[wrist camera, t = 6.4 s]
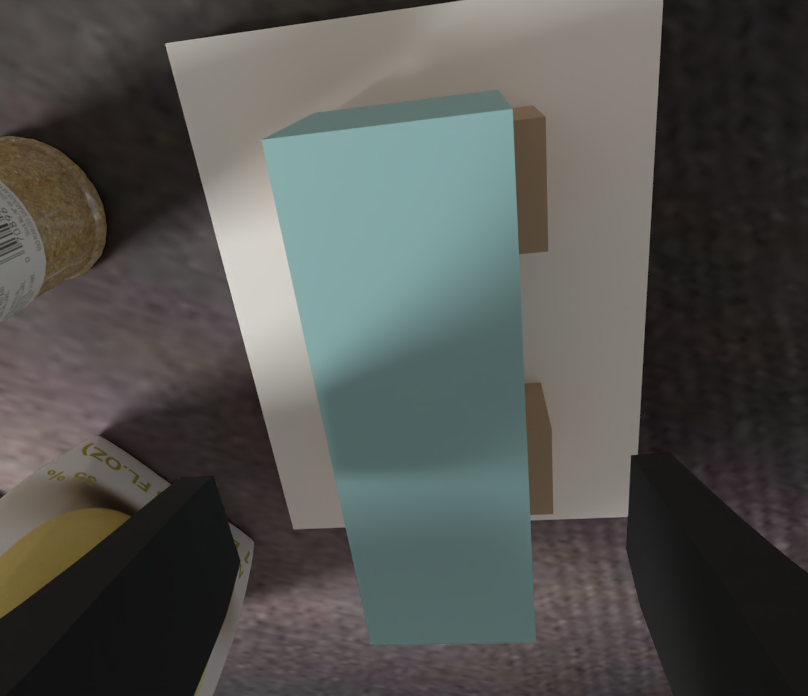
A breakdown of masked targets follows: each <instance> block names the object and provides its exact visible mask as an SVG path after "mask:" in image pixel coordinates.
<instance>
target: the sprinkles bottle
mask: <svg viewBox="0 0 808 696" xmlns="http://www.w3.org/2000/svg"><path fill="white" fill-rule="evenodd" d="M106 231H107V224H106V215H105V211H104V206H103V203H102V201H101V199H100V197H99V195H98V192H97V190H96V189H95V187H94V185H93V184H92V183H91V182H90V181H89V180H88V178H87V176H86V174H85V173H84V172H83V171H82V170H81V169H80V168H79V166H78V165H76V164H75V163H74V162H73V161H72V160H71V159H70V158H68V157H67V156H66V155H65V154H64V153H62V152H61V151H59V150H58V149H55V148H53V147H52V146H50V145H48V144H45V143H42V142H39V141H37V140H34V139H27V138H23V137H15V136H5V137H0V323H1V322H3V321H5V320H6V319H8V318H9V317H11V316H13V315H14V314H16V313H17V312H19V311H21V310H22V309H23V308H25V307H26V306H27V305H28V304H30V303H31V302H32V301H33V300H34V299H35V298H37V297H39V296H40V295H42V294H43V293H45V292H46V291H48V290H50V289H52V288H54V287H55V286H56V285H57V284H59V283H61V282H63V281H65V280H67V279H71V278H75V277H78V276H80V275H82V274H83V273H85V272H86V271H88V270H89V269H90V268H91V267H92V266H93V265H94V264H95V263H96V261H97V260H98V259H99V258H100V256H101V255H102V251H103V248H104V246H105V242H106Z"/></svg>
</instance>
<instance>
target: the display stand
mask: <svg viewBox="0 0 808 696" xmlns="http://www.w3.org/2000/svg"><path fill="white" fill-rule="evenodd" d="M662 12H663V0H462V1H455V2H448V3H441V4H434V5H427V6H420V7H414V8H407V9H400V10H393V11H386V12H379V13H372V14H365V15H358V16H351V17H344V18H338V19H331V20H324V21H317V22H310V23H303V24H296V25H289V26H282V27H275V28H269V29H262V30H255V31H248V32H241V33H234V34H227V35H220V36H213V37H206V38H199V39H193V40H186V41H179V42H172V43H165V45H166V49H167V53H168V57H169V61H170V64H171V68H172V72H173V76H174V79H175V83H176V87H177V91H178V95H179V98H180V102H181V106H182V110H183V113H184V117H185V121H186V125H187V129H188V132H189V136H190V140H191V144H192V148H193V151H194V155H195V159H196V163H197V166H198V170H199V174H200V178H201V182H202V185H203V189H204V193H205V197H206V200H207V204H208V208H209V212H210V216H211V219H212V223H213V227H214V231H215V234H216V238H217V242H218V246H219V250H220V253H221V257H222V261H223V265H224V269H225V272H226V276H227V280H228V284H229V287H230V291H231V295H232V299H233V303H234V306H235V310H236V314H237V318H238V321H239V325H240V329H241V333H242V337H243V340H244V344H245V348H246V352H247V355H248V359H249V363H250V367H251V371H252V374H253V378H254V382H255V386H256V389H257V393H258V397H259V401H260V405H261V408H262V412H263V416H264V420H265V424H266V427H267V431H268V435H269V439H270V442H271V446H272V450H273V454H274V458H275V461H276V465H277V469H278V473H279V476H280V480H281V484H282V488H283V492H284V495H285V499H286V503H287V507H288V510H289V514H290V518H291V522H292V526H293V529H318V528H344V527H345V523H344V518H343V514H342V509H341V505H340V500H339V495H338V491H337V486H336V482H335V477H334V472H333V468H332V463H331V459H330V454H329V449H328V445H327V440H326V436H325V431H324V426H323V422H322V417H321V413H320V408H319V403H318V399H317V394H316V390H315V385H314V380H313V376H312V371H311V367H310V362H309V357H308V353H307V348H306V344H305V339H304V334H303V330H302V325H301V320H300V316H299V311H298V307H297V302H296V297H295V293H294V288H293V284H292V279H291V274H290V270H289V265H288V261H287V256H286V251H285V247H284V242H283V238H282V233H281V228H280V224H279V219H278V215H277V210H276V205H275V201H274V196H273V192H272V187H271V182H270V178H269V173H268V169H267V164H266V159H265V155H264V150H263V146H262V141H261V140H262V139H264V138H266V137H268V136H270V135H272V134H274V133H276V132H277V131H279V130H281V129H283V128H285V127H287V126H289V125H291V124H293V123H295V122H297V121H299V120H301V119H303V118H305V117H307V116H309V115H311V114H313V113H318V112H325V111H333V110H341V109H349V108H357V107H365V106H373V105H380V104H388V103H396V102H404V101H412V100H420V99H427V98H435V97H443V96H451V95H459V94H467V93H475V92H482V91H490V90H499V92H500V93H501V94H502V96H503V97H504V98H505V100H506V101H507V102H508V103H509V105H510V106H511V107H512V109H513V129H514V152H515V176H516V199H517V222H518V245H519V268H520V291H521V314H522V337H523V360H524V383H525V407H526V430H527V453H528V476H529V499H530V521H531V520H557V519H584V518H611V517H628V505H629V485H630V465H631V455H638V442H639V424H640V406H641V388H642V371H643V353H644V335H645V317H646V299H647V281H648V263H649V245H650V227H651V209H652V191H653V174H654V156H655V138H656V120H657V102H658V84H659V66H660V48H661V30H662Z"/></svg>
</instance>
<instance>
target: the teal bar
mask: <svg viewBox="0 0 808 696" xmlns="http://www.w3.org/2000/svg"><path fill="white" fill-rule="evenodd" d="M261 141H262V146H263V150H264V155H265V159H266V164H267V169H268V173H269V178H270V182H271V187H272V192H273V196H274V201H275V205H276V210H277V215H278V219H279V224H280V228H281V233H282V238H283V242H284V247H285V251H286V256H287V261H288V265H289V270H290V274H291V279H292V284H293V288H294V293H295V297H296V302H297V307H298V311H299V316H300V320H301V325H302V330H303V334H304V339H305V344H306V348H307V353H308V357H309V362H310V367H311V371H312V376H313V380H314V385H315V390H316V394H317V399H318V403H319V408H320V413H321V417H322V422H323V426H324V431H325V436H326V440H327V445H328V449H329V454H330V459H331V463H332V468H333V472H334V477H335V482H336V486H337V491H338V495H339V500H340V505H341V509H342V514H343V518H344V523H345V528H346V532H347V537H348V541H349V546H350V551H351V555H352V560H353V564H354V569H355V574H356V578H357V583H358V587H359V592H360V597H361V601H362V606H363V610H364V615H365V620H366V624H367V629H368V633H369V638H370V643H371V645H407V644H479V643H536V637H535V614H534V591H533V568H532V545H531V522H530V499H529V476H528V453H527V430H526V407H525V383H524V360H523V337H522V314H521V291H520V268H519V245H518V222H517V199H516V176H515V152H514V129H513V109H512V107H511V106H510V105H509V103H508V102H507V101H506V100H505V98H504V97H503V96H502V94H501V93H500V92H499V90H490V91H482V92H475V93H467V94H459V95H451V96H443V97H435V98H427V99H420V100H412V101H404V102H396V103H388V104H380V105H373V106H365V107H357V108H349V109H341V110H333V111H325V112H318V113H313V114H311V115H309V116H307V117H305V118H303V119H301V120H299V121H297V122H295V123H293V124H291V125H289V126H287V127H285V128H283V129H281V130H279V131H277V132H276V133H274V134H272V135H270V136H268V137H266V138H264V139H262V140H261Z"/></svg>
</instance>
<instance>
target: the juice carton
mask: <svg viewBox="0 0 808 696" xmlns="http://www.w3.org/2000/svg"><path fill="white" fill-rule="evenodd" d="M170 485H171V484H170V483H168V482H167V481H166V480H164V479H163V478H161V477H160V476H159V475H157V474H156V473H155V472H153V471H152V470H150V469H149V468H148V467H146V466H145V465H144V464H142V463H141V462H139V461H138V460H137V459H135V458H134V457H132V456H131V455H130V454H128V453H127V452H125V451H124V450H122V449H121V448H119V447H118V446H116V445H115V444H113V443H111V442H110V441H108V440H106V439H104V438H102V437H100V436H95V437H93V438H91V439H89V440H87V441H85V442H83V443H81V444H80V445H78V446H76V447H74V448H73V449H71V450H69V451H68V452H66V453H65V454H63V455H61V456H60V457H58V458H57V459H55V460H53V461H52V462H50V463H49V464H47V465H46V466H44V467H42V468H41V469H39V470H38V471H36V472H35V473H33V474H32V475H30V476H29V477H28V478H26V479H25V480H23V481H22V482H21V483H19V484H18V485H17V486H15V487H14V488H13V489H11V490H10V491H9V492H8V493H7V494H6V495H5V496H3V497H2V498H1V499H0V618H2V617H3V616H4V615H6V614H7V613H9V612H10V611H11V610H13V609H14V608H16V607H17V606H18V605H20V604H21V603H22V602H24V601H25V600H26V599H28V598H29V597H30V596H32V595H33V594H34V593H36V592H37V591H38V590H39V589H41V588H42V587H43V586H45V585H46V584H47V583H49V582H50V581H51V580H53V579H54V578H55V577H57V576H58V575H59V574H60V573H62V572H63V571H64V570H66V569H67V568H68V567H70V566H71V565H72V564H74V563H75V562H76V561H78V560H79V559H80V558H81V557H83V556H84V555H85V554H86V553H87V552H89V551H90V550H91V549H92V548H94V547H95V546H96V545H97V544H99V543H100V542H101V541H102V540H103V539H105V538H106V537H107V536H108V535H110V534H111V533H112V532H113V531H114V530H116V529H117V528H118V527H119V526H121V525H122V524H123V523H124V522H125V521H127V520H128V519H129V518H130V517H132V516H133V515H134V514H135V513H136V512H138V511H139V510H140V509H141V508H142V507H144V506H145V505H146V504H147V503H149V502H150V501H151V500H152V499H154V498H155V497H156V496H157V495H159V494H160V493H161V492H162V491H164V490H165V489H166V488H167V487H169V486H170ZM228 523H229V522H228ZM229 526H230V530H231V533H232V536H233V539H234V542H235V545H236V548H237V551H238V554H239V557H240V560H241V562H240V566H239V570H238V574H237V578H236V582H235V586H234V590H233V594H232V597H231V601H230V604H229V608H228V611H227V615H226V618H225V620H224V623H223V625H222V628H221V631H220V633H219V636H218V638H217V641H216V643H215V646H214V648H213V650H212V653H211V655H210V658H209V660H208V663H207V665H206V668H205V670H204V673H203V675H202V677H201V680H200V682H199V685H198V687H197V690H196V692H195V694H194V696H213V694H214V691H215V688H216V686H217V683H218V680H219V677H220V675H221V672H222V669H223V667H224V664H225V661H226V658H227V655H228V653H229V650H230V647H231V644H232V641H233V638H234V635H235V632H236V629H237V626H238V622H239V619H240V615H241V611H242V607H243V602H244V598H245V593H246V589H247V584H248V579H249V574H250V569H251V564H252V559H253V552H254V542H253V540H252V539H251V538H250V537H248V536H247V535H246V534H245V533H243V532H242V531H241V530H239V529H238V528H236V527H235V526H233V525H232V524H231V523H229Z"/></svg>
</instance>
